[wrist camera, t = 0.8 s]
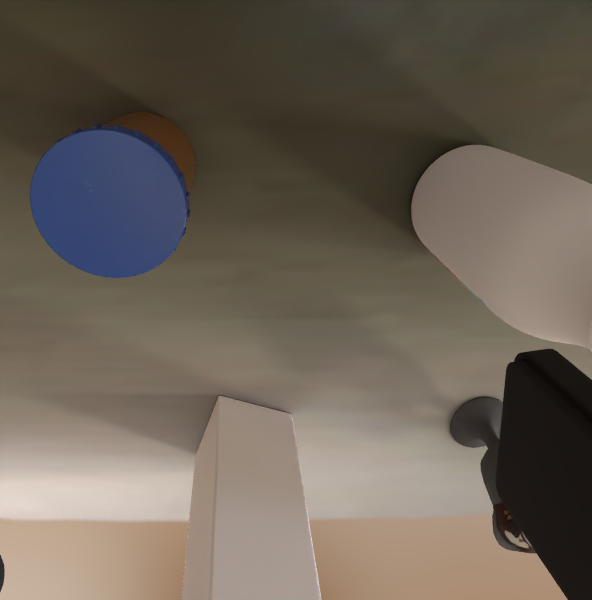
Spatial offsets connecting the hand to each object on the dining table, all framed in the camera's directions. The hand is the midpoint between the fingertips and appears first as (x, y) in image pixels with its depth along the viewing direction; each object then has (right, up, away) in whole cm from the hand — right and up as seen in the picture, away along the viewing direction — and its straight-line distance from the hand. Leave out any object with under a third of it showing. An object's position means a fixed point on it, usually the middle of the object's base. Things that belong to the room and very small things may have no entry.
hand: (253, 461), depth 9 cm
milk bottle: (+12, +9, +27) cm, 31 cm away
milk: (-3, -8, +33) cm, 34 cm away
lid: (-7, +7, +15) cm, 18 cm away
